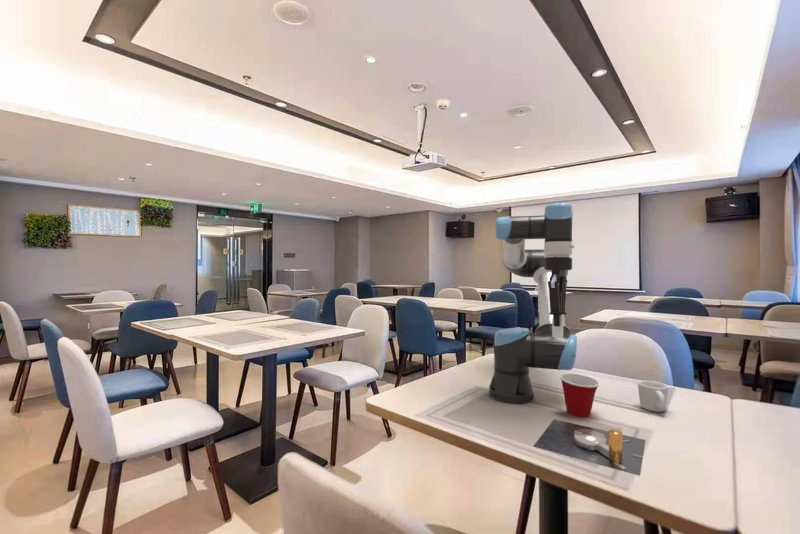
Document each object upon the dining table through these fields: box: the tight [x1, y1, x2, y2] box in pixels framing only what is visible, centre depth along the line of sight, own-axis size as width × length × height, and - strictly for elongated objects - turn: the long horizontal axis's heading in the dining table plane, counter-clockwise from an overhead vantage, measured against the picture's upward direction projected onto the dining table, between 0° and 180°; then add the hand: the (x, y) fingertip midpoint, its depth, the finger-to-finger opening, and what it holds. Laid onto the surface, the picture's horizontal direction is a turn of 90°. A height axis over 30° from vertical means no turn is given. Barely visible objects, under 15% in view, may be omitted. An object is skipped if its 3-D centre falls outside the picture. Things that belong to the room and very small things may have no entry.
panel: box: [533, 419, 646, 476], centre depth 94 cm, size 22×20×2 cm
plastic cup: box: [559, 372, 601, 418], centre depth 113 cm, size 11×11×12 cm
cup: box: [637, 379, 669, 413], centre depth 119 cm, size 11×8×8 cm
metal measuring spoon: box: [574, 429, 623, 463], centre depth 91 cm, size 13×7×6 cm, turn 14°
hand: (557, 336), depth 112 cm, fingers closed
